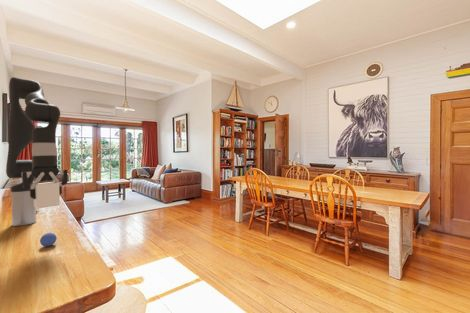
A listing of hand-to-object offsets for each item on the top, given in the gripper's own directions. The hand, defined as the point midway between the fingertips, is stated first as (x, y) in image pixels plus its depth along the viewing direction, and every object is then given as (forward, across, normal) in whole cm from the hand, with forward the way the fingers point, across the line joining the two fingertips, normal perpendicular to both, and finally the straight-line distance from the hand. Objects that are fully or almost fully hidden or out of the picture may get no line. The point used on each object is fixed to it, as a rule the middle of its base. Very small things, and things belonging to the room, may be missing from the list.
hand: (46, 197), depth 89 cm
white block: (+3, 0, 0) cm, 3 cm away
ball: (+16, 0, +1) cm, 16 cm away
